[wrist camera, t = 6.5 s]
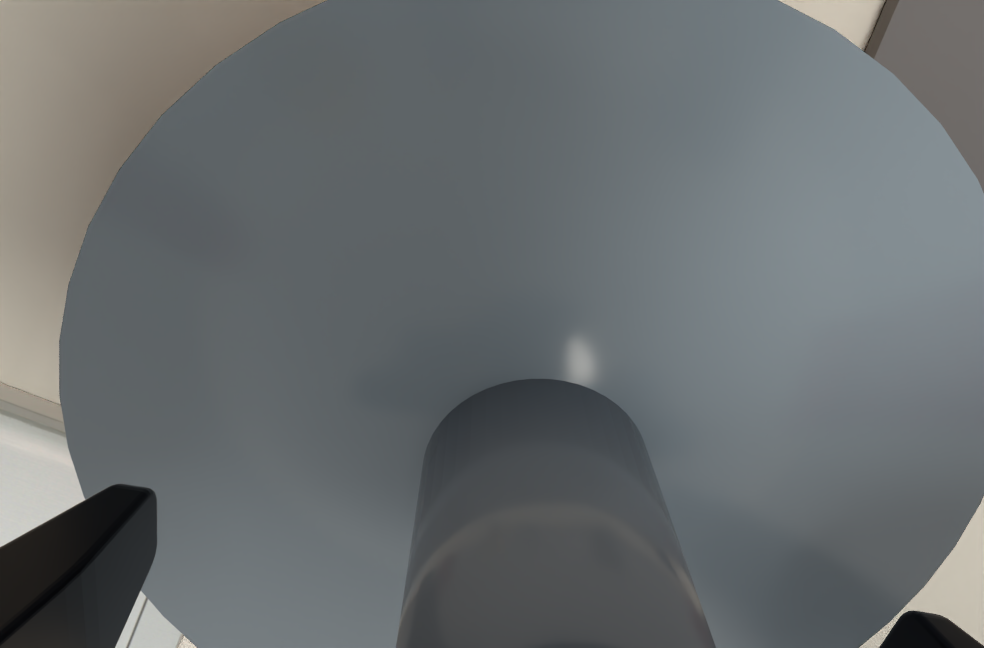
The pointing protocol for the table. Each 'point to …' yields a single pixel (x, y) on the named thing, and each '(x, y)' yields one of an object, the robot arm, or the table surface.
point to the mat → (939, 64)
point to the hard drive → (54, 494)
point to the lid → (537, 332)
